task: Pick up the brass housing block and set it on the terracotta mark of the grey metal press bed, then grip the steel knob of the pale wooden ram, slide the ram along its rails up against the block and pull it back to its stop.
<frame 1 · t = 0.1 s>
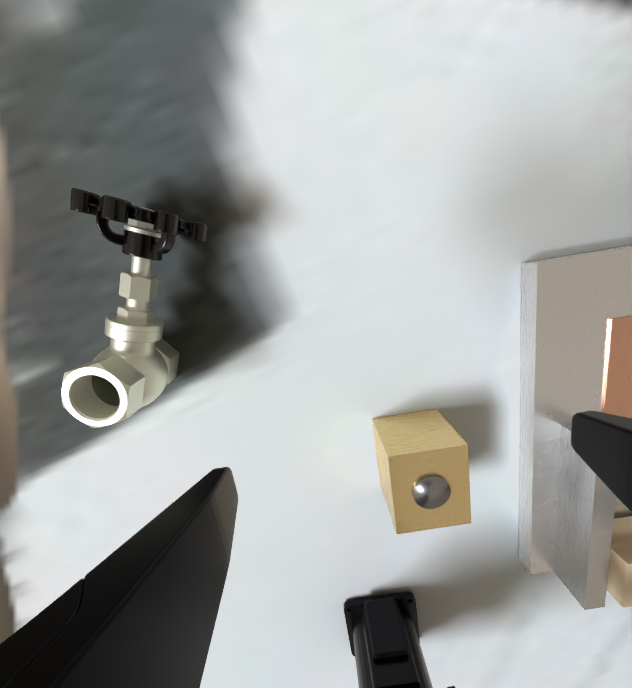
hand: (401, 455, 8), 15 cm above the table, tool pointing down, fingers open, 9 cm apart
valve: (163, 307, 22), on the table
housing: (406, 446, 25), on the table
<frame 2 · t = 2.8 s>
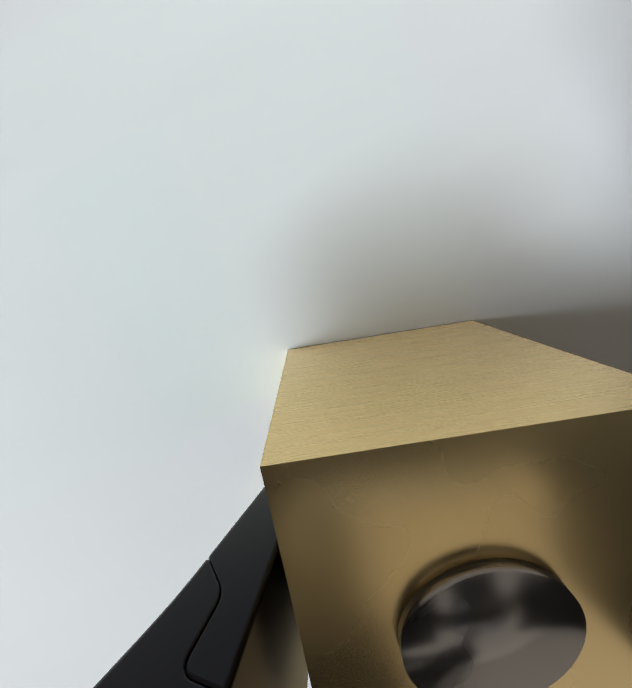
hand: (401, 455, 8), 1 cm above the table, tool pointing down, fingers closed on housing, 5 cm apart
housing: (390, 433, 9), on the table, touching gripper
when the fingers open (3 cm above the table, at t = 8.8 s): housing stays where it is, resting on press bed.
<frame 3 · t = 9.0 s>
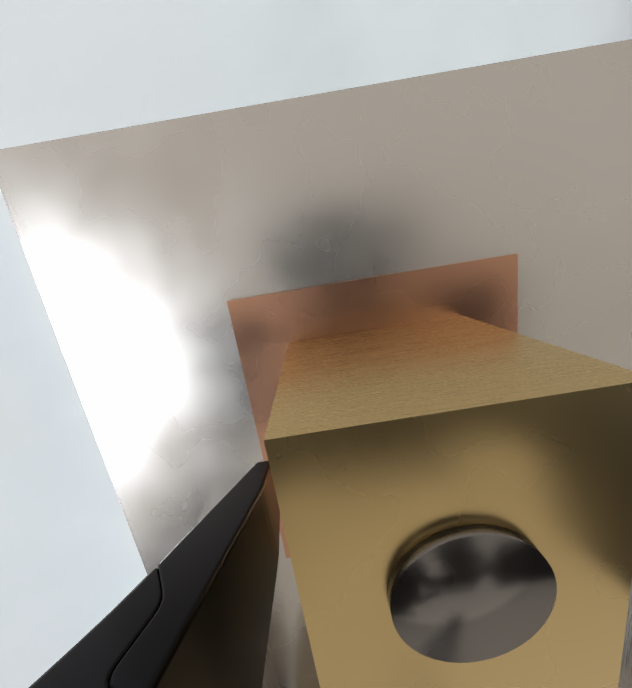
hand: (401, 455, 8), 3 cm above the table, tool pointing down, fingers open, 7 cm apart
housing: (385, 423, 9), point 2 cm above the table, touching press bed
press bed: (387, 494, 12), on the table
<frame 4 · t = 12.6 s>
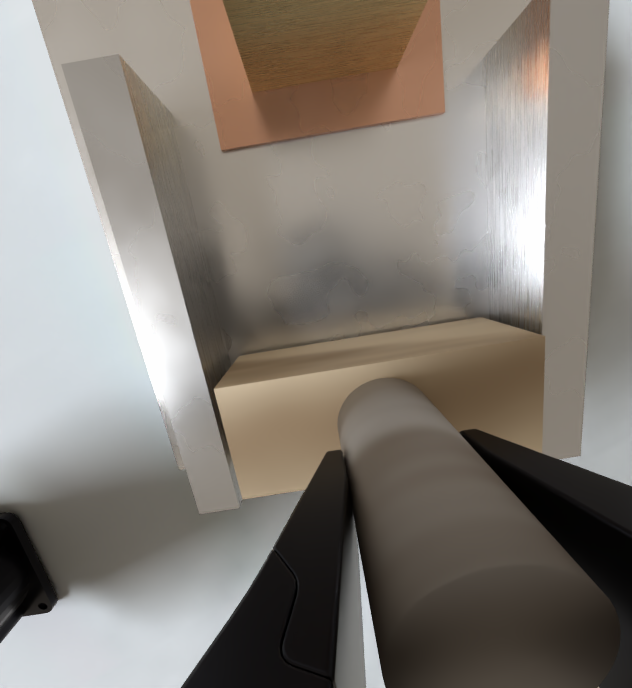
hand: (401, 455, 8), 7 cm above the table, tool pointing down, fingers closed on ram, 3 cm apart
ram: (396, 445, 8), point 7 cm above the table, slide at 0.0 cm, touching gripper
press bed: (327, 134, 12), on the table
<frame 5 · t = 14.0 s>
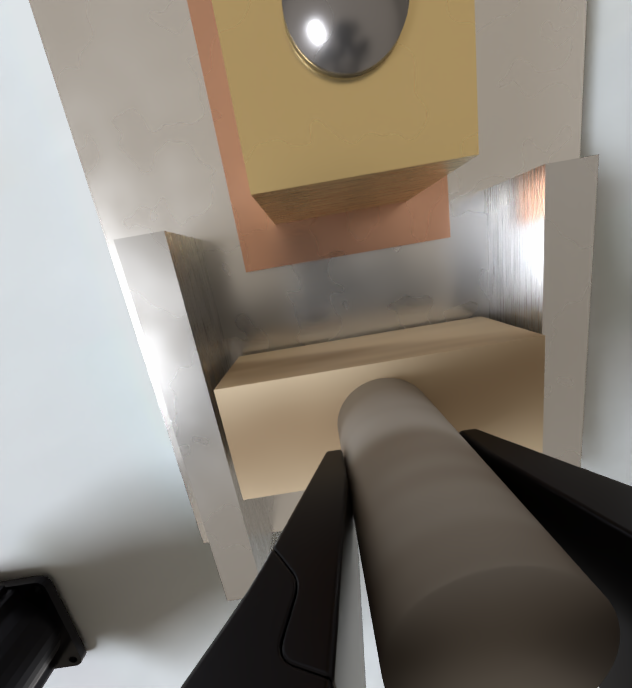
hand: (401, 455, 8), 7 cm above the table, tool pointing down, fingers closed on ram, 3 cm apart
ram: (395, 445, 8), point 7 cm above the table, slide at 4.3 cm, touching gripper
housing: (328, 121, 11), point 2 cm above the table, touching press bed
press bed: (341, 244, 13), on the table
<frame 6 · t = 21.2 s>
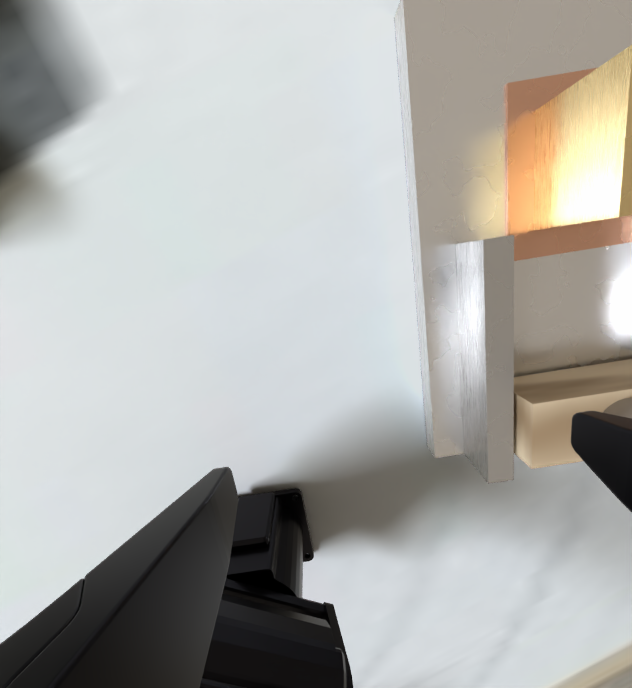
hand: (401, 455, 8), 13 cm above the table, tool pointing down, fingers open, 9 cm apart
housing: (579, 165, 17), point 2 cm above the table, touching press bed
press bed: (554, 244, 19), on the table
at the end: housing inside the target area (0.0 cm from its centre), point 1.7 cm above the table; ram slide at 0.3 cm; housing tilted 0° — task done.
